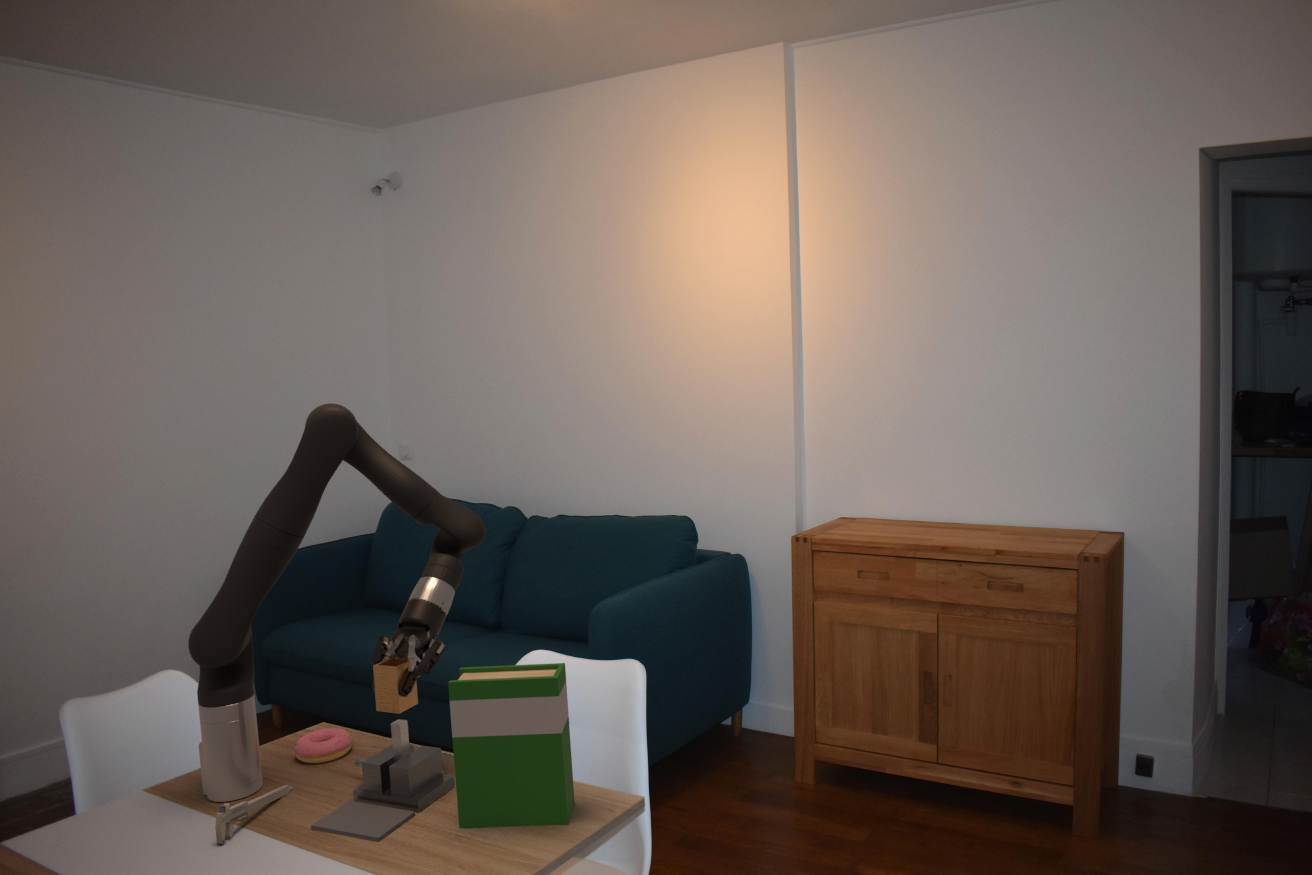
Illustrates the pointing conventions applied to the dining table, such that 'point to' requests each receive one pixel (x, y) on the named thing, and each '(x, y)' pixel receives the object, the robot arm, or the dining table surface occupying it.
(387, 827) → the slate pad
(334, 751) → the doughnut
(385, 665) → the copper collar
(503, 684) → the hardback book
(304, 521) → the robot arm
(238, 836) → the dining table surface
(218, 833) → the caliper
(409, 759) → the grey slotted block
